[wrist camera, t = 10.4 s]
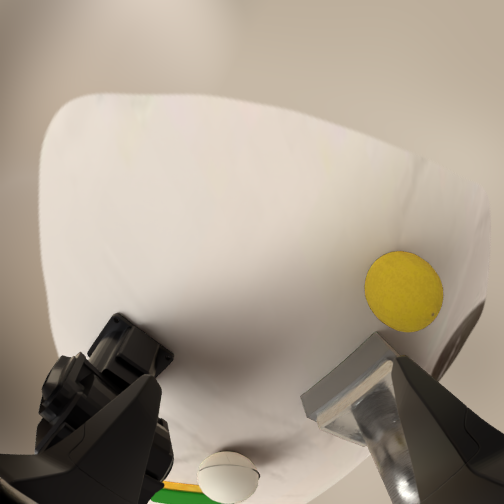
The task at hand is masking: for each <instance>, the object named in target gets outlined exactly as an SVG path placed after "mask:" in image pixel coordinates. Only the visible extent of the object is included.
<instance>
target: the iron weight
mask: <svg viewBox="0 0 504 504" xmlns="http://www.w3.org/2000/svg"><path fill="white" fill-rule="evenodd" d="M353 416H354V418H355V420H356V422H357V425H358V427H359V429H360V431H361V433H362V436H363V438H364V440H365V442H366V444H367V447H368V449H369V451H370V453H371V455H372V457H373V460H374V462H375V464H376V466H377V469H378V471H379V473H380V476H381V478H382V480H383V482H384V484H385V487H386V489H387V491H388V494H389V496H390V498H391V501H392V503H393V504H420V503H421V502H420V500H419V495H418V490H417V485H416V480H415V476H414V471H413V467H412V463H411V459H410V455H409V451H408V447H407V443H406V440H405V436H404V432H403V429H402V425H401V422H400V418H399V415H398V410H397V405H396V399H395V397H394V396H393V394H392V393H391V392H390V391H388V390H381V391H377V392H374V393H372V394H370V395H368V396H367V397H365V398H364V399H362V400H361V401H360V402H359V403H358V404H357V406H356V407H355V409H354V411H353Z"/></svg>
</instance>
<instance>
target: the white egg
mask: <svg viewBox="0 0 504 504" xmlns="http://www.w3.org/2000/svg"><path fill="white" fill-rule="evenodd" d="M259 478H260V474H259V472H258V471H257V468H256V467H255V466H254V464H253V463H252V462H251V461H250V460H249V459H248V458H246V457H245V456H243V455H241V454H239V453H236V452H229V451H226V452H218V453H215V454H213V455H211V456H209V457H207V458H206V459H205V460H204V461H203V462H202V463H201V465H200V467H199V469H198V473H197V480H198V484H199V487H200V488H201V490H202V492H203V493H204V494H205V495H206V496H208V497H209V498H210V499H212V500H214V501H216V502H220V503H224V504H234V503H238V502H242V501H244V500H246V499H247V498H249V497H250V496H251V495H252V494H253V493H254V492H255V490H256V488H257V486H258V480H259Z"/></svg>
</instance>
